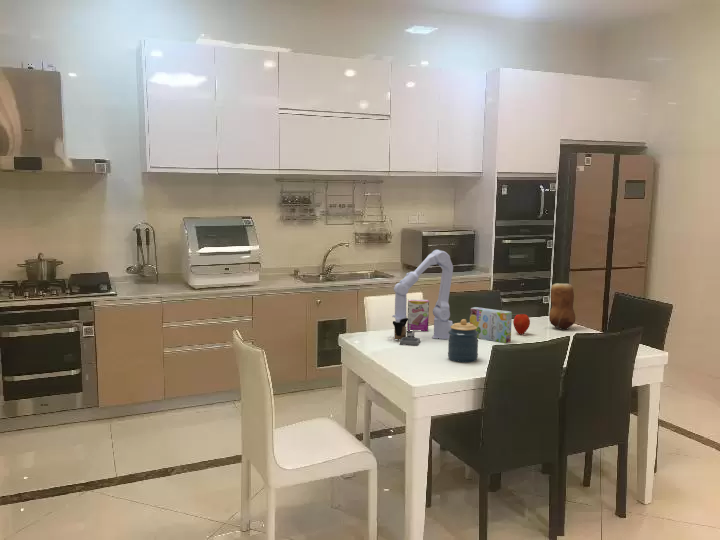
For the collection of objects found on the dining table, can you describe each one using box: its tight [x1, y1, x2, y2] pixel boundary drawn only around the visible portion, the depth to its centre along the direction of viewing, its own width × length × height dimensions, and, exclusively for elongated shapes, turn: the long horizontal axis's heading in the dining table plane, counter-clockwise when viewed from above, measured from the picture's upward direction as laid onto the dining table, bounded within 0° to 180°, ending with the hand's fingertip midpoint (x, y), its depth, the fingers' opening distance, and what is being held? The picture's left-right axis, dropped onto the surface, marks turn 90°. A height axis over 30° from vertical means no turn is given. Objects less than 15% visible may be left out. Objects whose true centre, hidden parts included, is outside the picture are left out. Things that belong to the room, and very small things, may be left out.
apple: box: [512, 313, 531, 335], centre depth 317 cm, size 9×8×11 cm
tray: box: [399, 336, 421, 347], centre depth 295 cm, size 8×8×2 cm
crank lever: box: [406, 330, 416, 338], centre depth 304 cm, size 8×3×4 cm, turn 165°
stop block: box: [393, 326, 407, 341], centre depth 305 cm, size 5×4×6 cm
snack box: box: [469, 306, 513, 344], centre depth 305 cm, size 21×6×15 cm, turn 47°
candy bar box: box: [406, 298, 430, 332], centre depth 325 cm, size 11×5×16 cm, turn 84°
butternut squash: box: [548, 282, 576, 330], centre depth 331 cm, size 14×13×25 cm
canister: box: [447, 318, 479, 363], centre depth 266 cm, size 13×13×18 cm
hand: (400, 334), depth 305 cm, fingers open, 7 cm apart
